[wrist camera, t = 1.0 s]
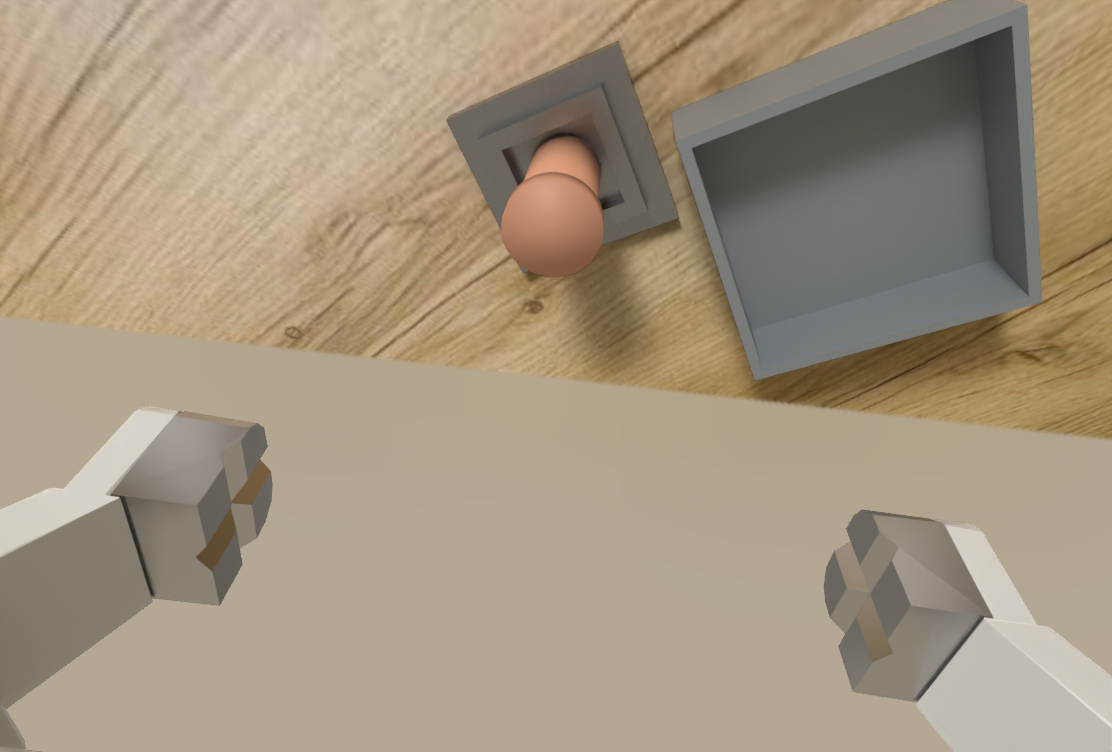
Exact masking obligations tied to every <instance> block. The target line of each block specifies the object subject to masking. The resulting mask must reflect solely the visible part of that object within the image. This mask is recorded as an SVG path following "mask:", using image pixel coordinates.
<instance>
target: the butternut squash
mask: <svg viewBox="0 0 1112 752" xmlns="http://www.w3.org/2000/svg"><path fill="white" fill-rule="evenodd" d="M600 177H601V164H600V160H599V157H598V155H597V153H596V151H595V150H594V148H593V147H592V146H591V145H590V144H589V143H588V142H586V141H585V140H583V139H581V138H579V137H577V136H573V135H567V134H563V135H556V136H553V137H550V138H548V139H546V140H545V141H544V142H542V143H541V144H540V145H539V146H538V147H537V149H536V150H535V152H534V154H533V156H532V159H531V162H530V165H529V167H528V170H527V173H526V176H525V179H524V181H523V182H522V183H521V184H520V185H518V186H517V188H516V189H515V190H514V191H513V193H512V194H511V196H510V198H509V200H508V202H507V205H506V207H505V210H504V213H503V217H502V222H501V232H502V238H503V242H504V244H505V247H506V249H507V250H508V252H509V254H510V255H511V256H512V258H513V259H514V260H515V261H516V262H517V263H518V264H519V265H521V266H522V267H523V268H525V269H527V270H528V271H530V272H532V273H535V274H538V275H541V276H546V277H562V276H567V275H571V274H574V273H576V272H578V271H580V270H582V269H583V268H585V267H586V266H587V265H588V264H589V263H590V262H591V261H592V260H593V259H594V258H595V256H596V255H597V253H598V251H599V249H600V247H601V244H602V240H603V230H604V214H603V209H602V206H601V203H600V201H599V199H598V196H599V187H600Z"/></svg>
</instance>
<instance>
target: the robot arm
mask: <svg viewBox="0 0 1112 752" xmlns="http://www.w3.org/2000/svg"><path fill="white" fill-rule="evenodd" d="M266 448H267V441H266V435H265V430H264V427H262V426H261V425H259V424H258V423H252V422H246V421H240V420H234V419H228V418H222V417H216V416H210V415H204V414H198V413H192V412H186V411H185V412H181V411H175V410H169V409H164V408H158V407H152V406H146V407H143V408H140V409H138V410H136V411H135V412H134V413H133V414H132V415H131V416H130V417H129V418H128V419H127V420H126V422H124V424H123V425H122V426H121V427H120V428H119V429H118V430H117V431H116V432H115V433H114V434H113V436H112V437H111V438H110V439H109V440H108V441H107V442H106V443H105V444H104V445H103V446H102V448H101V449H100V450H99V451H98V452H97V453H96V454H95V455H94V456H93V457H92V458H91V459H90V461H89V462H88V463H87V464H86V465H85V466H84V467H83V468H82V469H81V470H80V471H79V472H78V474H77V475H76V476H75V477H74V478H73V479H72V480H71V481H70V482H69V483H68V484H67V485H66V487H65V488H64V489H57V488H49V489H47V490H44V491H42V492H40V493H38V494H35V495H33V496H31V497H29V498H26V499H24V500H22V501H19V502H17V503H15V504H12V505H10V506H8V507H6V508H3V509H1V510H0V752H40V751H32V750H26V746H25V741H24V738H23V737H22V735H21V733H20V732H19V730H18V728H17V727H16V725H15V723H14V722H13V720H12V718H11V717H10V715H9V713H8V712H7V710H6V709H7V708H8V707H10V706H11V705H12V704H14V703H15V702H17V701H18V700H19V699H21V698H22V697H24V696H25V695H26V694H27V693H29V692H30V691H32V690H33V689H34V688H36V687H37V686H39V685H40V684H41V683H43V682H44V681H45V680H47V679H48V678H50V677H51V676H52V675H54V674H55V673H56V672H58V671H59V670H60V669H62V668H63V667H65V666H66V665H67V664H69V663H70V662H71V661H73V660H74V659H75V658H77V657H78V656H80V655H81V654H82V653H84V652H85V651H86V650H88V649H89V648H91V647H92V646H93V645H95V644H96V643H97V642H99V641H100V640H101V639H103V638H104V637H105V636H107V635H108V634H110V633H111V632H112V631H114V630H115V629H116V628H118V627H119V626H120V625H122V624H123V623H125V622H126V621H127V620H129V619H130V618H132V617H133V616H134V615H136V614H137V613H138V612H140V611H141V610H142V609H144V608H145V607H147V606H148V605H149V604H151V603H152V598H154V599H164V600H172V601H182V602H191V603H200V604H209V605H219V606H220V604H221V603H222V601H223V599H224V597H225V595H226V593H227V592H228V590H229V588H230V586H231V584H232V583H233V581H234V579H235V577H236V575H237V574H238V572H239V570H240V568H241V566H242V558H241V553H240V548H241V547H243V546H245V545H246V544H248V543H250V542H251V541H253V540H255V539H256V538H257V537H258V535H259V533H260V531H261V529H262V527H263V525H264V523H265V521H266V518H267V514H268V511H269V508H270V504H271V500H272V499H271V498H272V476H271V471H270V470H269V469H268V467H267V466H266V465H265V464H264V463H263V462H262V461H261V460H260V458H261V457H262V455H263V453H264V452H265V450H266ZM846 529H847V532H848V535H849V538H850V541H851V542H849V543H847V544H845V545H844V546H842V547H840V548H838V549H837V550H835V551H834V552H833V555H832V557H831V559H830V561H829V563H828V565H827V567H826V574H825V581H824V594H825V602H826V606H827V609H828V613H829V616H830V618H831V619H832V620H833V621H834V622H835V623H836V624H837V625H838V626H839V627H840V628H841V630H842V631H844V633H845V635H844V637H843V639H842V641H841V643H840V645H839V649H840V652H841V656H842V659H843V662H844V665H845V668H846V671H847V675H848V678H849V681H850V684H851V688H852V691H853V692H857V693H863V694H869V695H876V696H881V697H888V698H894V699H900V700H906V701H912V702H917V704H916V707H917V708H918V709H919V710H920V712H921V713H922V714H923V715H924V716H925V717H926V719H927V720H928V721H929V722H930V723H931V725H932V726H933V727H934V728H935V730H936V731H937V732H938V733H939V735H940V736H941V737H942V738H943V739H944V741H945V742H946V743H947V744H948V745H949V747H950V748H951V749H952V750H953V751H954V752H1112V676H1110V675H1109V674H1108V673H1107V672H1105V671H1104V670H1103V669H1101V668H1100V667H1099V666H1098V665H1096V664H1095V663H1094V662H1093V661H1091V660H1090V659H1089V658H1087V657H1086V656H1085V655H1084V654H1083V653H1081V652H1080V651H1079V650H1077V649H1076V648H1075V647H1074V646H1072V645H1071V644H1070V643H1069V642H1067V641H1066V640H1065V639H1064V638H1062V637H1061V636H1060V635H1059V634H1057V633H1056V632H1055V631H1053V630H1052V629H1051V628H1050V627H1046V626H1040V625H1037V624H1036V622H1035V621H1034V619H1033V617H1032V616H1031V614H1030V612H1029V611H1028V609H1027V607H1026V606H1025V604H1024V602H1023V600H1022V599H1021V597H1020V595H1019V594H1018V592H1017V590H1016V589H1015V587H1014V585H1013V583H1012V582H1011V580H1010V578H1009V577H1008V575H1007V574H1006V572H1005V570H1004V568H1003V567H1002V565H1001V563H1000V562H999V560H998V558H997V556H996V555H995V553H994V551H993V550H992V548H991V546H990V545H989V543H988V541H987V540H986V538H985V536H984V534H983V533H982V531H981V530H980V529H978V528H977V527H976V526H975V525H973V524H971V523H963V522H955V521H947V520H939V519H934V520H932V519H927V518H921V517H913V516H905V515H897V514H891V513H883V512H876V511H869V510H860V511H859V512H858V513H857V514H855V515H854V516H853V518H852V519H851V521H850V523H849V525H848V526H847V528H846Z"/></svg>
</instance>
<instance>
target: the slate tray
mask: <svg viewBox="0 0 1112 752" xmlns="http://www.w3.org/2000/svg"><path fill="white" fill-rule="evenodd" d="M671 115H672V121H673V127H674V133H675V140H676V143H677V147H678V150H679V153H680V156H681V159H682V162H683V165H684V168H685V171H686V174H687V177H688V180H689V183H690V186H691V189H692V192H693V195H694V198H695V201H696V204H697V207H698V210H699V213H700V216H701V219H702V222H703V225H704V228H705V231H706V234H707V237H708V240H709V243H710V246H711V249H712V252H713V255H714V258H715V261H716V265H717V268H718V271H719V274H720V277H721V280H722V283H723V286H724V289H725V292H726V295H727V298H728V301H729V304H730V307H731V310H732V313H733V316H734V319H735V322H736V325H737V328H738V331H739V334H740V337H741V340H742V343H743V346H744V349H745V352H746V355H747V358H748V361H749V364H750V367H751V370H752V373H753V376H754V379H755V381H756V380H759V379H763V378H767V377H770V376H774V375H778V374H781V373H785V372H789V371H792V370H796V369H799V368H803V367H807V366H810V365H814V364H818V363H821V362H825V361H829V360H832V359H836V358H840V357H843V356H847V355H851V354H854V353H858V352H862V351H865V350H869V349H873V348H876V347H880V346H884V345H887V344H891V343H895V342H898V341H902V340H906V339H909V338H913V337H917V336H920V335H924V334H928V333H931V332H935V331H939V330H942V329H946V328H950V327H953V326H957V325H961V324H964V323H968V322H972V321H975V320H979V319H983V318H986V317H990V316H994V315H997V314H1001V313H1005V312H1008V311H1012V310H1016V309H1019V308H1023V307H1027V306H1030V305H1034V304H1037V303H1041V302H1042V286H1041V266H1040V247H1039V227H1038V207H1037V188H1036V168H1035V148H1034V129H1033V109H1032V89H1031V70H1030V50H1029V30H1028V11H1027V4H1024V3H1021V2H1018V1H1015V0H948V1H946V2H944V3H941V4H939V5H936V6H934V7H931V8H929V9H926V10H924V11H921V12H919V13H916V14H914V15H911V16H909V17H906V18H904V19H901V20H899V21H896V22H894V23H891V24H889V25H886V26H884V27H881V28H879V29H876V30H874V31H871V32H869V33H866V34H864V35H861V36H859V37H857V38H854V39H852V40H849V41H847V42H844V43H842V44H839V45H837V46H834V47H832V48H829V49H827V50H824V51H822V52H819V53H817V54H814V55H812V56H809V57H807V58H804V59H802V60H799V61H797V62H794V63H792V64H789V65H787V66H784V67H782V68H779V69H777V70H775V71H772V72H770V73H767V74H765V75H762V76H760V77H757V78H755V79H752V80H750V81H747V82H745V83H742V84H740V85H737V86H735V87H732V88H730V89H727V90H725V91H722V92H720V93H717V94H715V95H712V96H710V97H707V98H705V99H702V100H700V101H697V102H695V103H692V104H690V105H688V106H685V107H683V108H680V109H678V110H675V111H673V112H671Z"/></svg>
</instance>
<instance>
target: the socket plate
mask: <svg viewBox="0 0 1112 752" xmlns="http://www.w3.org/2000/svg"><path fill="white" fill-rule="evenodd" d="M446 121H447V123H448V125H449V127H450V129H451V131H452V133H453V135H454V137H455V139H456V141H457V143H458V145H459V147H460V149H461V151H462V153H463V155H464V157H465V159H466V161H467V163H468V165H469V167H470V169H471V171H472V173H473V175H474V177H475V179H476V181H477V183H478V185H479V187H480V189H481V191H482V193H483V195H484V197H485V199H486V201H487V203H488V205H489V207H490V209H491V211H492V213H493V215H494V217H495V219H496V221H497V223H498V225H499V227H500V229H501V222H502V217H503V213H504V210H505V207H506V205H507V202H508V200H509V198H510V196H511V194H512V193H513V191H514V190H515V189H516V188H517V186H518V185H520V184H521V183H522V182H523V181H524V179H525V176H526V173H527V170H528V167H529V165H530V162H531V159H532V156H533V154H534V152H535V150H536V149H537V147H538V146H539V145H540V144H541V143H542V142H544V141H545V140H546V139H548V138H550V137H553V136H556V135H563V134H567V135H573V136H577V137H579V138H581V139H583V140H585V141H586V142H588V143H589V144H590V145H591V146H592V147H593V148H594V150H595V151H596V153H597V155H598V157H599V160H600V164H601V177H600V187H599V196H598V199H599V201H600V203H601V206H602V209H603V214H604V230H603V240H602V244H601V245H604V244H607V243H610V242H612V241H615V240H618V239H621V238H624V237H627V236H629V235H632V234H635V233H638V232H641V231H644V230H646V229H649V228H652V227H655V226H658V225H660V224H663V223H666V222H669V221H672V220H675V219H677V218H679V217H678V211H677V209H676V206H675V203H674V200H673V197H672V194H671V191H670V188H669V186H668V183H667V180H666V177H665V174H664V171H663V168H662V165H661V163H660V160H659V157H658V154H657V151H656V148H655V145H654V142H653V140H652V137H651V134H650V131H649V128H648V125H647V122H646V120H645V117H644V114H643V111H642V108H641V105H640V102H639V99H638V97H637V94H636V91H635V88H634V85H633V82H632V79H631V76H630V74H629V71H628V68H627V65H626V62H625V59H624V56H623V53H622V51H621V48H620V45H619V42H618V41H617V42H614V43H612V44H610V45H608V46H605V47H603V48H601V49H599V50H596V51H594V52H592V53H590V54H587V55H585V56H583V57H581V58H578V59H576V60H574V61H572V62H569V63H567V64H565V65H563V66H560V67H558V68H556V69H554V70H551V71H549V72H547V73H545V74H542V75H540V76H538V77H536V78H533V79H531V80H529V81H527V82H524V83H522V84H520V85H518V86H515V87H513V88H511V89H509V90H506V91H504V92H502V93H500V94H497V95H495V96H493V97H491V98H488V99H486V100H484V101H482V102H479V103H477V104H475V105H473V106H470V107H468V108H466V109H464V110H461V111H459V112H457V113H455V114H452V115H450V116H449V117H448V118H447V119H446ZM518 265H519V264H518ZM519 267H520V269H521V271H522V273H525V272H528V270H527V269H525V268H523V267H522V266H521V265H519Z"/></svg>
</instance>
